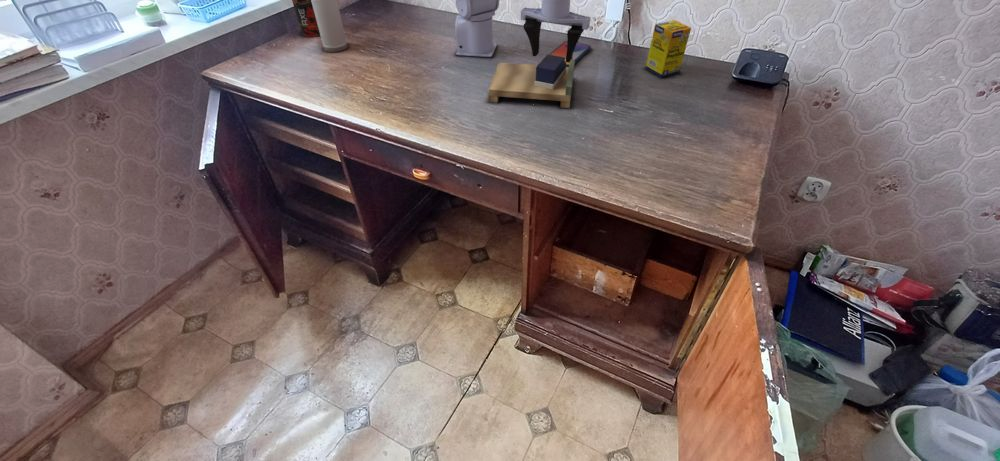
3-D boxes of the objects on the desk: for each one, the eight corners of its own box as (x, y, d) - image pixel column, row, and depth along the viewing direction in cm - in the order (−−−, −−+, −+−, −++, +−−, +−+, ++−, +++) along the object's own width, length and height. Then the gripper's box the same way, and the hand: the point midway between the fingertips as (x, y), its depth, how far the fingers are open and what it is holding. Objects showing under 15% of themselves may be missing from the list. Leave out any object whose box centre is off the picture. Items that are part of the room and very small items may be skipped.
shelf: (488, 101, 104) (488, 80, 101) (499, 74, 114) (498, 54, 111) (569, 108, 102) (571, 86, 99) (572, 79, 112) (575, 59, 109)
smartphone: (591, 49, 125) (591, 45, 124) (569, 69, 115) (569, 65, 115) (565, 44, 128) (566, 40, 127) (542, 63, 118) (542, 59, 117)
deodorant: (301, 37, 132) (284, -21, 121) (302, 30, 136) (286, -27, 125) (322, 35, 133) (307, -22, 122) (323, 28, 137) (308, -29, 126)
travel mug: (318, 50, 125) (295, -33, 111) (333, 41, 129) (313, -40, 116) (337, 54, 123) (317, -30, 109) (352, 45, 128) (334, -37, 114)
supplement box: (661, 78, 112) (672, 32, 105) (644, 68, 116) (654, 23, 108) (679, 73, 114) (692, 27, 107) (663, 63, 118) (673, 19, 110)
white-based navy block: (553, 89, 102) (554, 71, 99) (534, 85, 103) (535, 67, 100) (566, 72, 108) (567, 54, 105) (548, 69, 109) (549, 51, 106)
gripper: (597, -11, 93) (589, 55, 103) (530, -20, 97) (527, 45, 107) (588, -1, 89) (579, 68, 98) (517, -10, 93) (516, 57, 102)
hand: (552, 57), depth 102 cm, fingers open, 7 cm apart
